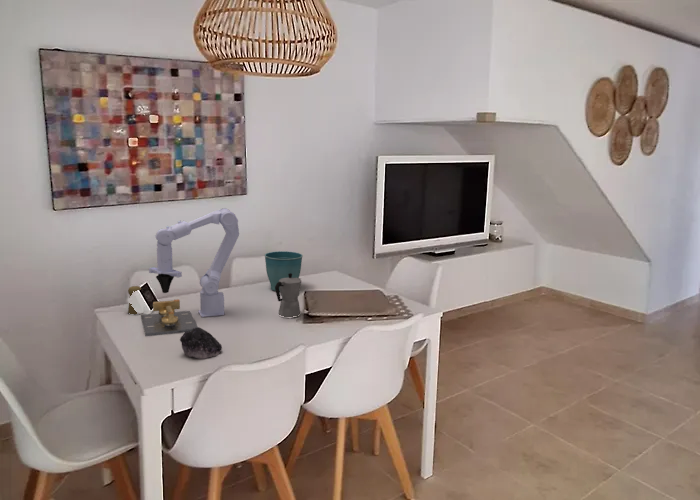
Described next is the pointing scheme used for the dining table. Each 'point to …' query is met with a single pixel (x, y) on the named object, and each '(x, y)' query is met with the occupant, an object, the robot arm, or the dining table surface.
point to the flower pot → (282, 266)
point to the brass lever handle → (169, 317)
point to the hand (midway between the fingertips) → (165, 292)
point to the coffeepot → (288, 296)
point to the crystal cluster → (200, 344)
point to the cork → (130, 291)
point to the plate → (155, 326)
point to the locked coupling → (162, 305)
